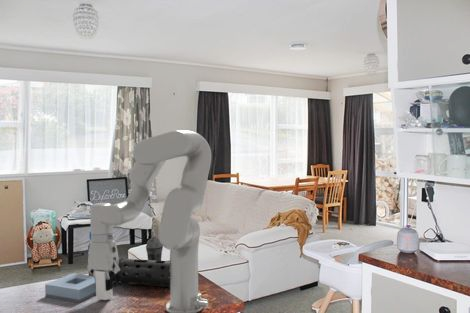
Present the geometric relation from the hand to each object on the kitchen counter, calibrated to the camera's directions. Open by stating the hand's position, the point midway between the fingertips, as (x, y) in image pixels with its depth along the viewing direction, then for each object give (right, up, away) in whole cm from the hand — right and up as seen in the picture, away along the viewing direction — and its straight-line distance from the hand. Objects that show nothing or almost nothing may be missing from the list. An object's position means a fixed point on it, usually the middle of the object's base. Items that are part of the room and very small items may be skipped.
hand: (104, 288), depth 147 cm
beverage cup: (+12, -3, +30) cm, 32 cm away
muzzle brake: (+9, -4, +16) cm, 19 cm away
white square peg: (0, -3, 0) cm, 3 cm away
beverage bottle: (-10, -4, +23) cm, 26 cm away
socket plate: (-13, -4, +7) cm, 15 cm away
